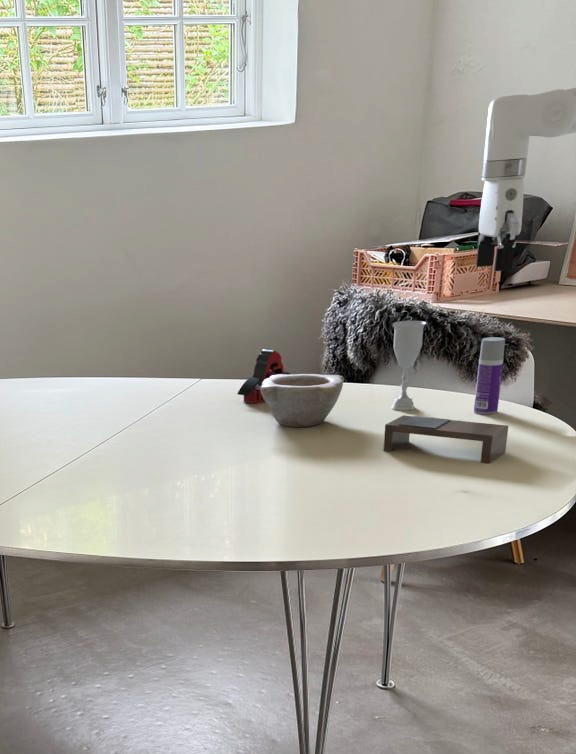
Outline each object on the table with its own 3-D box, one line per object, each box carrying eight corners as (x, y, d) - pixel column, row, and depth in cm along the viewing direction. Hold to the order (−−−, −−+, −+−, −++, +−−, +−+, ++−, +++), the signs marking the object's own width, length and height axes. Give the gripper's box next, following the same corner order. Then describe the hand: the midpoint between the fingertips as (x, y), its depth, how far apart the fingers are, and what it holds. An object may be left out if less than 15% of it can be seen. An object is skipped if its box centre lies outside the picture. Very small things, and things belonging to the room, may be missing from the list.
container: (501, 413, 200) (509, 339, 193) (479, 415, 199) (487, 341, 193) (491, 408, 204) (499, 336, 197) (470, 410, 204) (477, 338, 197)
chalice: (414, 412, 205) (421, 326, 198) (383, 410, 209) (388, 325, 201) (422, 405, 211) (429, 320, 203) (391, 403, 214) (397, 320, 206)
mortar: (346, 413, 209) (348, 371, 205) (334, 432, 195) (336, 387, 191) (270, 412, 215) (271, 371, 211) (253, 430, 201) (253, 387, 197)
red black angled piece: (247, 405, 222) (247, 356, 217) (237, 403, 225) (236, 355, 220) (298, 391, 232) (299, 344, 227) (287, 390, 234) (288, 343, 230)
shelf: (505, 452, 174) (508, 424, 172) (489, 463, 169) (492, 434, 167) (401, 440, 186) (403, 414, 184) (383, 450, 181) (385, 423, 179)
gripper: (543, 169, 170) (530, 270, 177) (506, 169, 185) (496, 263, 193) (501, 172, 170) (490, 273, 178) (467, 172, 186) (458, 266, 193)
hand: (493, 268), depth 185 cm, fingers open, 9 cm apart
